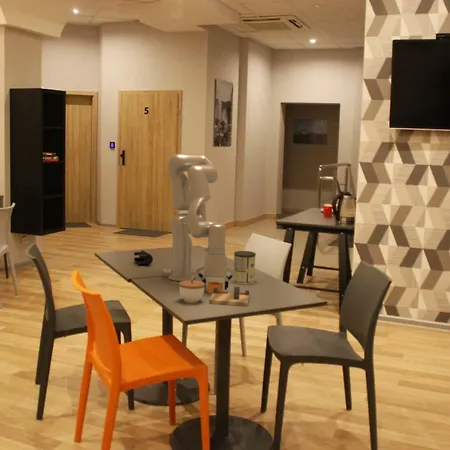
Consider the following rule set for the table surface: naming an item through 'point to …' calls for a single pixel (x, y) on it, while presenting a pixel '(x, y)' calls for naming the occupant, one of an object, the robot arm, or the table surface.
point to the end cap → (143, 258)
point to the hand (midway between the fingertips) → (215, 288)
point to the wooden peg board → (230, 297)
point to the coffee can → (244, 267)
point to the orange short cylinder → (214, 286)
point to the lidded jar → (191, 290)
